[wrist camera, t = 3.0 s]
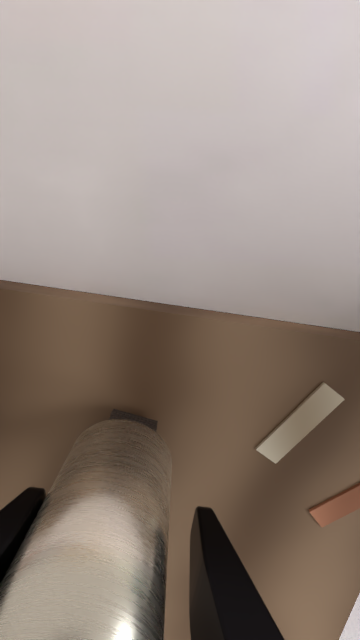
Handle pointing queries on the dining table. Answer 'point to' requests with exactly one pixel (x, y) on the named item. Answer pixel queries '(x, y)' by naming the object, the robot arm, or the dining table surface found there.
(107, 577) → the lever
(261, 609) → the robot arm
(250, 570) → the board
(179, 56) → the dining table surface
